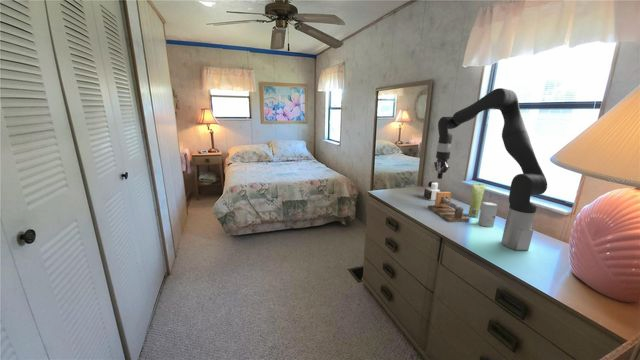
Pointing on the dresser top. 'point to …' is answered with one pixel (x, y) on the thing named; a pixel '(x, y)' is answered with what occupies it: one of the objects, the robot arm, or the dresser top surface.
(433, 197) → the medicine bottle
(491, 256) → the dresser top surface
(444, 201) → the pipe stand
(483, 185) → the tube
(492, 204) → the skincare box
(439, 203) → the collar
